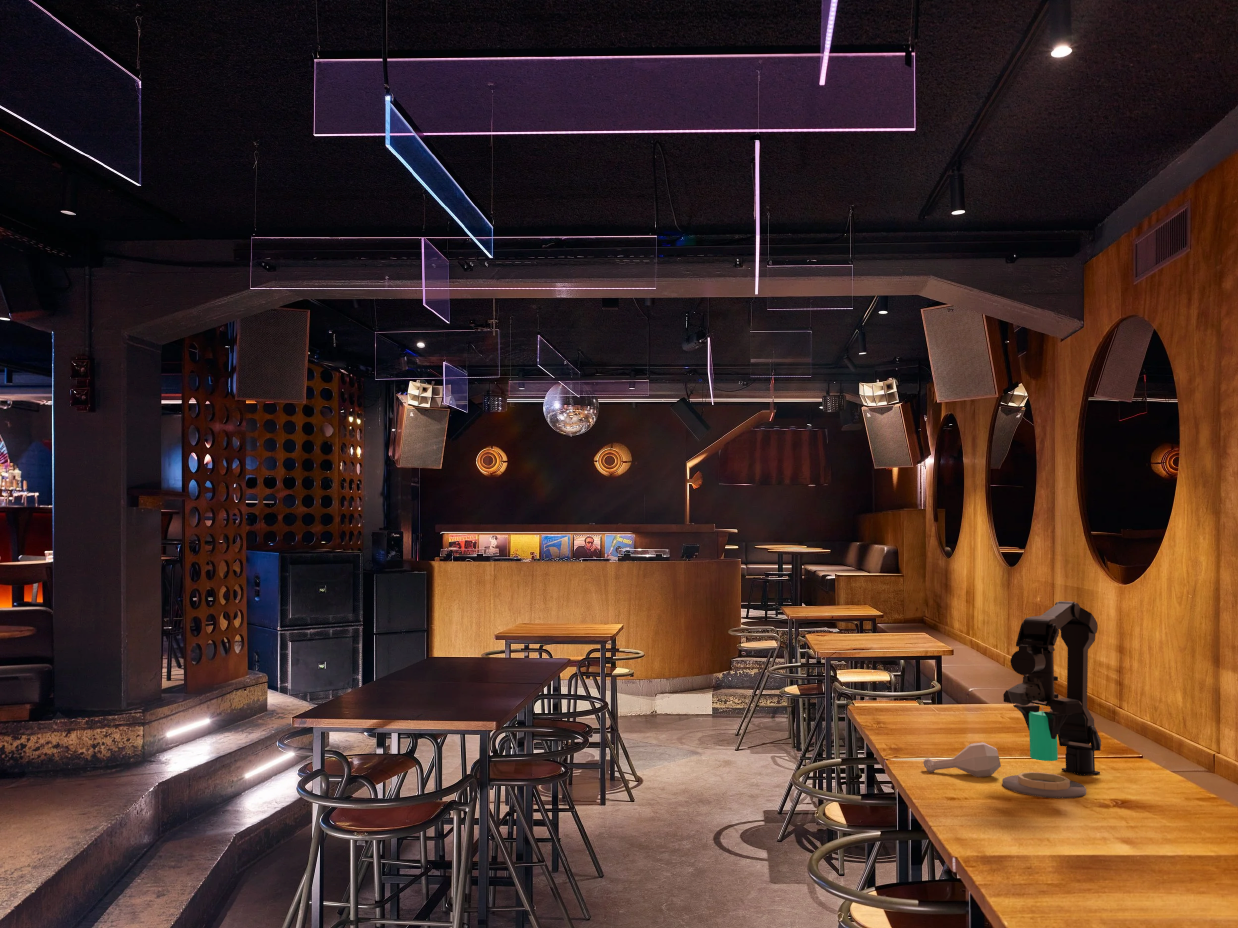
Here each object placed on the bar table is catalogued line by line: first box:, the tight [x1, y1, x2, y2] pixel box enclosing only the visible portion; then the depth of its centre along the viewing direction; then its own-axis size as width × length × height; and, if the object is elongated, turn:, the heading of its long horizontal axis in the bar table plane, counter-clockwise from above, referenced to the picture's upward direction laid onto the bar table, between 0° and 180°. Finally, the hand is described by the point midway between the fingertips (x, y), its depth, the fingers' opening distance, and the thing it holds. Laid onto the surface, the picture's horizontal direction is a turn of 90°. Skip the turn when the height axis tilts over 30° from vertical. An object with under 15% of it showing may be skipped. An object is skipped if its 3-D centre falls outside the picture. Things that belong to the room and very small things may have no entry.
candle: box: [1028, 705, 1059, 762], centre depth 223 cm, size 6×6×12 cm
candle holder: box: [1001, 771, 1087, 799], centre depth 222 cm, size 18×18×2 cm
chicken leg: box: [922, 742, 1002, 778], centre depth 236 cm, size 8×18×8 cm, turn 73°
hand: (1042, 738), depth 223 cm, fingers closed on candle, 5 cm apart
